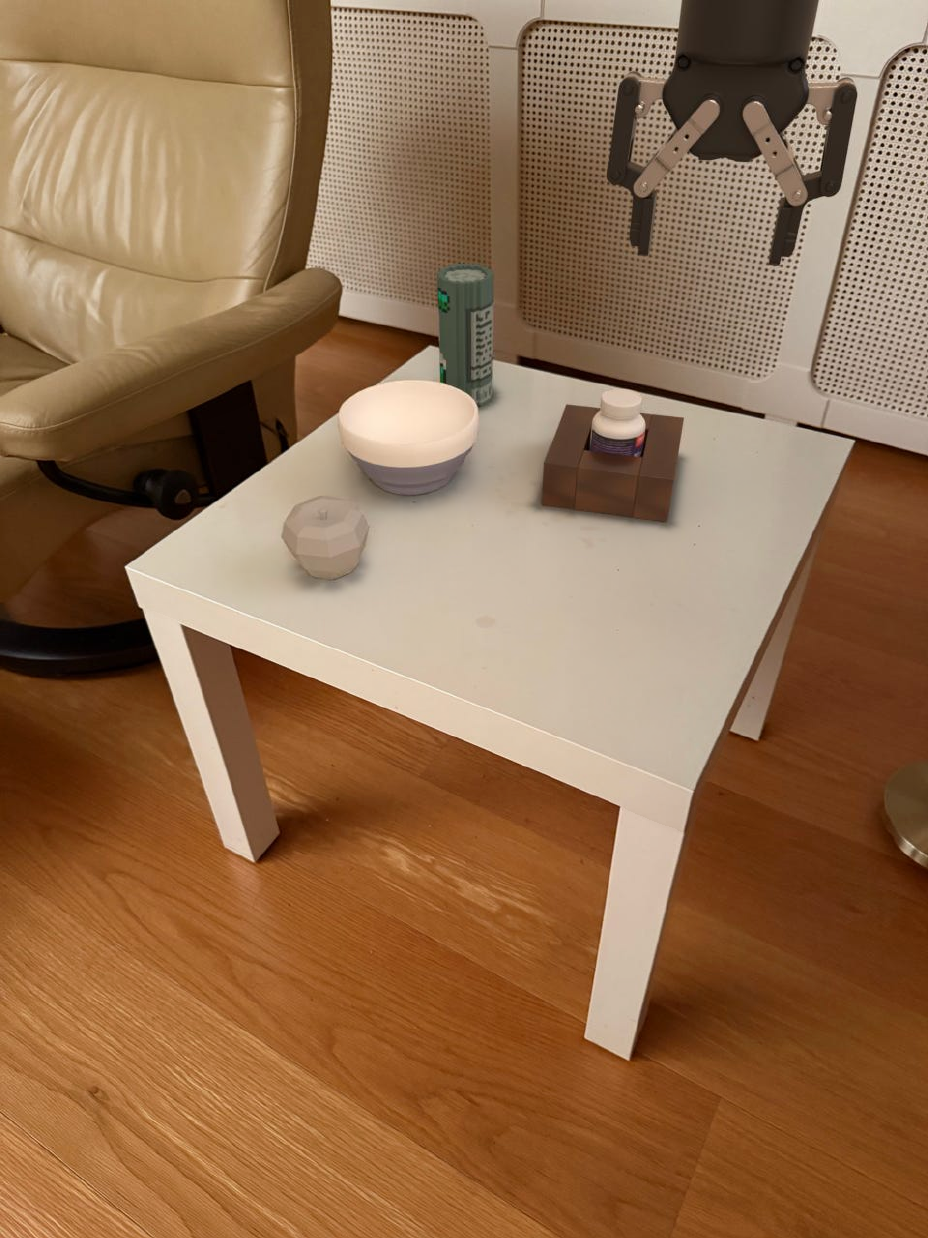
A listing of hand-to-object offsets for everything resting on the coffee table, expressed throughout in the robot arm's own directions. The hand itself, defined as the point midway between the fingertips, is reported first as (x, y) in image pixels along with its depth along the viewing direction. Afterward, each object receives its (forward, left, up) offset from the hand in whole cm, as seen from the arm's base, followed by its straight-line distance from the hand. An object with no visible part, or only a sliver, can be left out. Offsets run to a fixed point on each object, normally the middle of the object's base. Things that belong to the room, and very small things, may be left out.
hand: (708, 257), depth 59 cm
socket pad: (+6, -19, -30) cm, 36 cm away
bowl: (+27, -15, -30) cm, 43 cm away
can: (+26, -34, -30) cm, 52 cm away
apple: (+30, +3, -30) cm, 42 cm away
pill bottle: (+6, -19, -30) cm, 36 cm away
